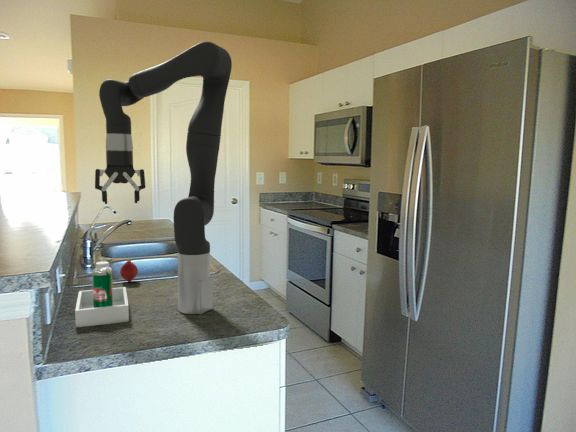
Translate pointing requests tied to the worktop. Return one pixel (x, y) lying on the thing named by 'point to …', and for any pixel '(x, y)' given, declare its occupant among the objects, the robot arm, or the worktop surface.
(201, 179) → the robot arm
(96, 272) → the soda can
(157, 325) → the worktop surface
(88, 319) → the tote
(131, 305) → the worktop surface
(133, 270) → the onion
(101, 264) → the supplement bottle
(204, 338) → the worktop surface
